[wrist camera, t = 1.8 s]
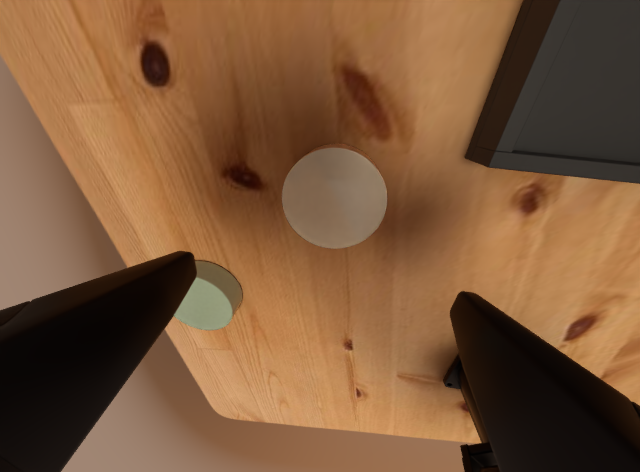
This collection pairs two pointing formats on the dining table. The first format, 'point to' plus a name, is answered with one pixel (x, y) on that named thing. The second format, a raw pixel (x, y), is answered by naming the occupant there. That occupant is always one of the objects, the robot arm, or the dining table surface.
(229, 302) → the pale green disc
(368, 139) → the dining table surface
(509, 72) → the tray
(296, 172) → the beige disc
